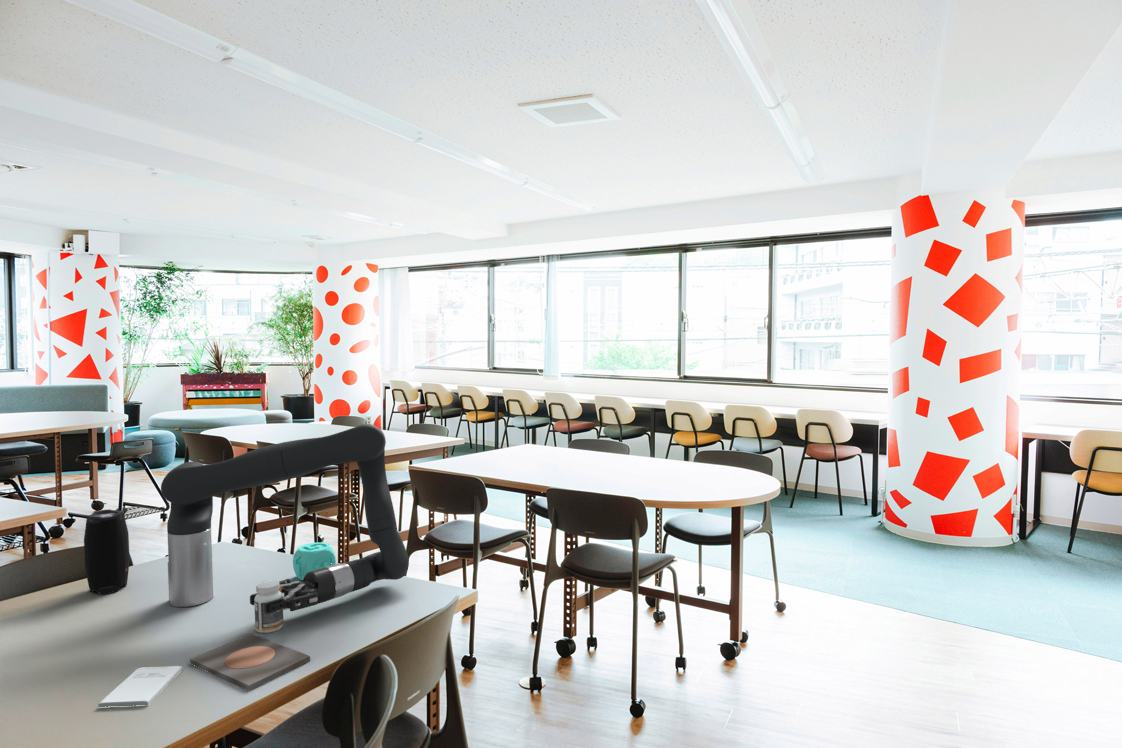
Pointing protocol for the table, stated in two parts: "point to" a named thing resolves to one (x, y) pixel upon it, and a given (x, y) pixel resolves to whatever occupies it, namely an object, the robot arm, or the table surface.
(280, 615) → the pill bottle
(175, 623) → the table surface
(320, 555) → the decorative dice
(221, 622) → the table surface
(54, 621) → the table surface
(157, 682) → the external hard drive
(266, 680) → the dark grey flat slab
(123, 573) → the portable speaker
